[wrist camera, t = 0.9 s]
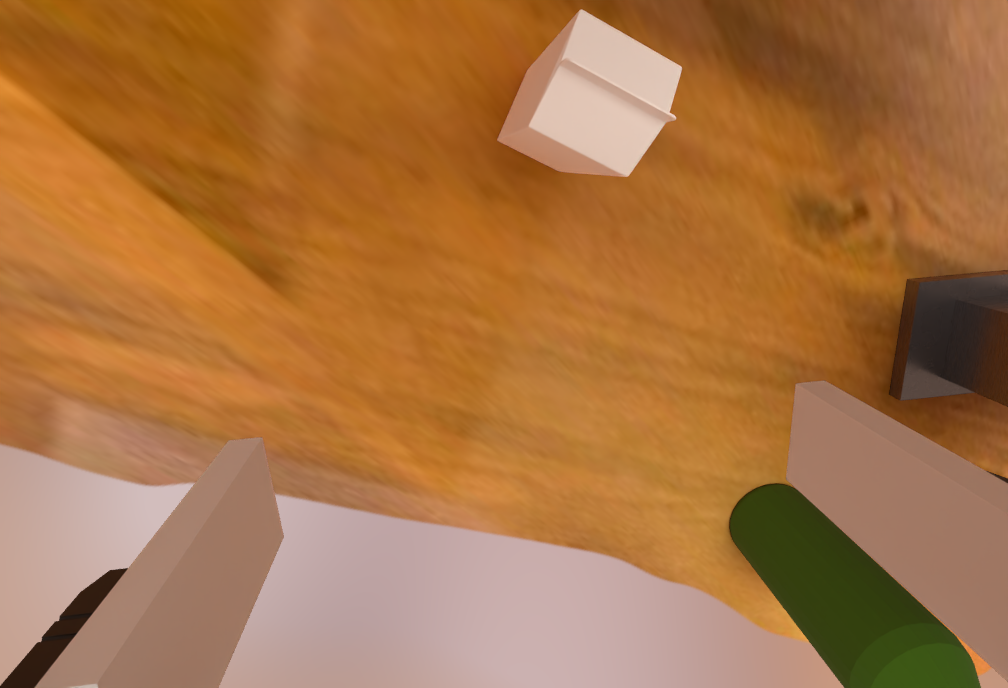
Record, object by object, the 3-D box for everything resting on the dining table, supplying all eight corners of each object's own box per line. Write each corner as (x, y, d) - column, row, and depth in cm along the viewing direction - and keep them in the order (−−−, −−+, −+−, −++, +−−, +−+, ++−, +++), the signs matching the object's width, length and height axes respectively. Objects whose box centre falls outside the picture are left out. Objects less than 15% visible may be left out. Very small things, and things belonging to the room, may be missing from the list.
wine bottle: (797, 553, 63) (1137, 929, 32) (721, 553, 62) (995, 942, 31) (816, 482, 60) (1206, 818, 29) (736, 482, 59) (1053, 829, 28)
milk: (559, 172, 48) (648, 183, 27) (495, 140, 47) (535, 126, 26) (592, 102, 46) (713, 56, 26) (526, 66, 45) (597, -12, 24)
